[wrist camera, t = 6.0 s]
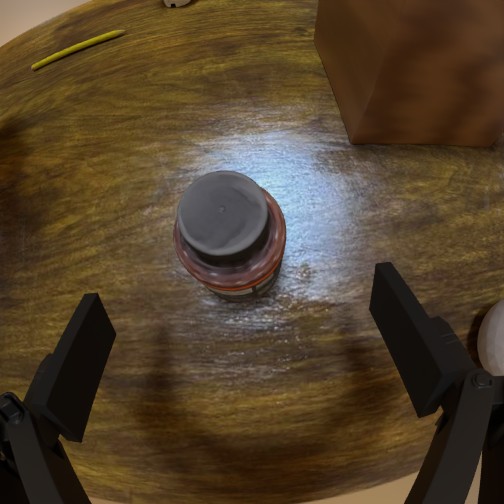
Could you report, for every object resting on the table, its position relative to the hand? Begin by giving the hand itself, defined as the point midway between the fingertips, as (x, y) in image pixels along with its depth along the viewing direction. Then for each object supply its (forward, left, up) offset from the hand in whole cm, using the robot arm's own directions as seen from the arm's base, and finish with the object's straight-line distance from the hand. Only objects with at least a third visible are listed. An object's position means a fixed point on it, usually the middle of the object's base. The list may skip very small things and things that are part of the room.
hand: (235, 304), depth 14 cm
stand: (+20, +22, -9) cm, 31 cm away
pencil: (-21, +38, -9) cm, 44 cm away
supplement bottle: (0, +4, -10) cm, 10 cm away
